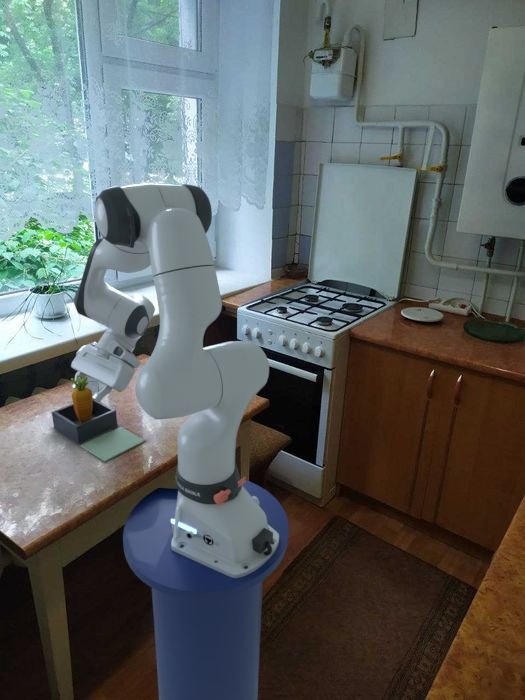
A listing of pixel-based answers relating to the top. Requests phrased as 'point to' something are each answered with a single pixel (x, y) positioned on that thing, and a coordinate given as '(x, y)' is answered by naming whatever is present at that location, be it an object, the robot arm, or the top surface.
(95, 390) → the syrup box
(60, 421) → the crate
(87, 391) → the carrot
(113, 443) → the mat
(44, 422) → the top surface
